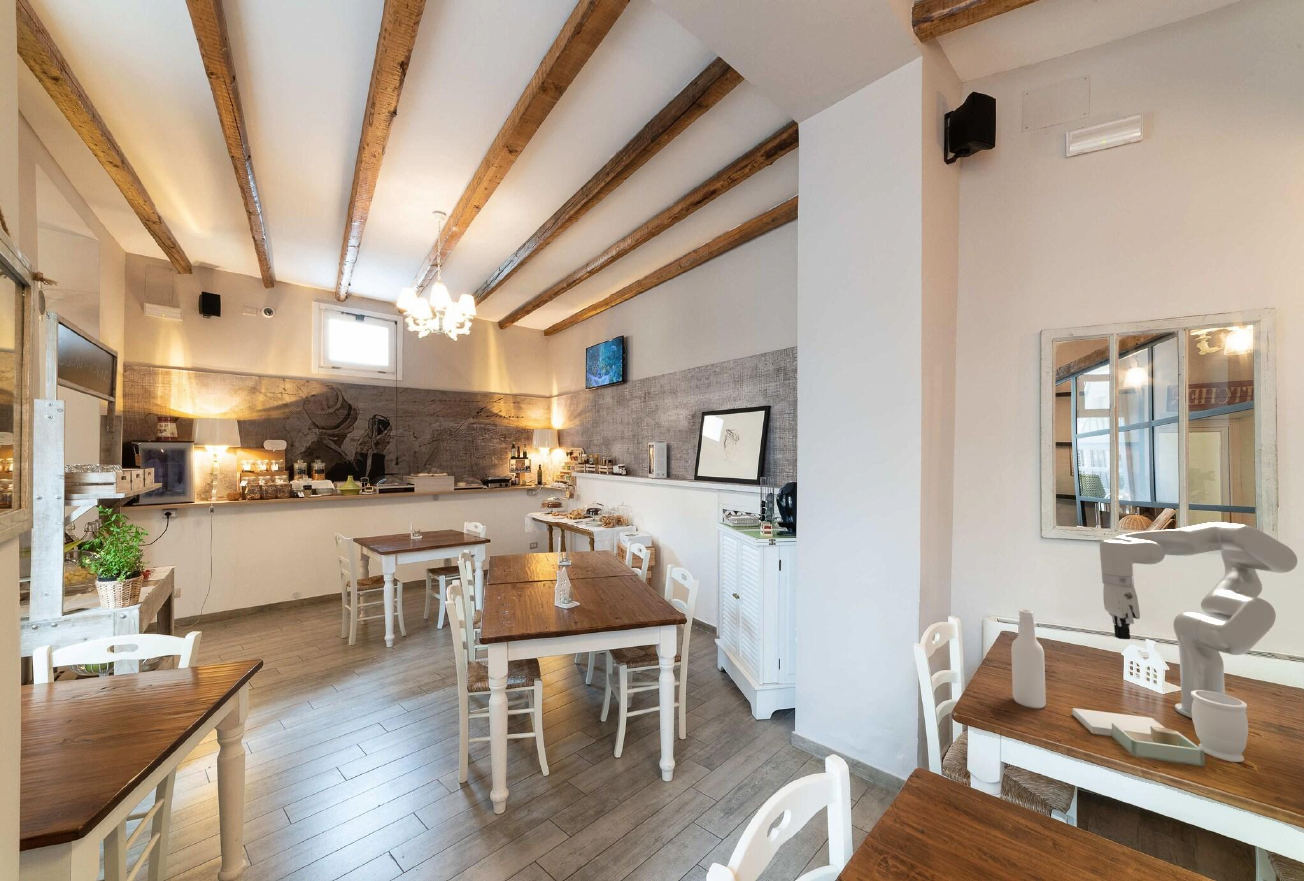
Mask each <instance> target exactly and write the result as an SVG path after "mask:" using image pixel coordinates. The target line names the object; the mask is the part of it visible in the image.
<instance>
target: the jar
mask: <svg viewBox="0 0 1304 881" xmlns="http://www.w3.org/2000/svg"><path fill="white" fill-rule="evenodd" d="M1191 696H1192V697H1193V698H1194V700H1193V703H1192V718H1191V719H1192V723H1193V725H1194V726H1193V727H1194V731H1195V734H1196V737H1197V739H1198V740H1199V742H1200V743H1199V744H1198V747H1199V748H1201V749H1202V750H1204V754H1206V755H1208V756H1210V757H1213V758H1216V759H1220V760H1223V761H1226V762H1232V763H1234V762H1235V763H1241V762H1242V763H1243V762H1244V761H1245V757H1244V756H1243V754H1242V753H1243V752H1244V750H1245V749H1246V746H1247V741H1248V735H1249V722H1248V717H1247V716H1246V714H1245V712H1244V710H1246V711H1247V709H1248V705H1247V703H1246V702H1245V701H1243V700H1241V699H1239V698H1236V697H1234V696H1231V695H1228V694H1226V693H1225V694H1221V693H1216V692H1211V691H1204V690H1194V691H1191Z"/></svg>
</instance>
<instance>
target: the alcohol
mask: <svg viewBox="0 0 1304 881" xmlns="http://www.w3.org/2000/svg"><path fill="white" fill-rule="evenodd" d="M1018 616H1019V617H1018V618H1019V620H1018V634H1017V637H1016V638H1015V639H1014V640H1013V641H1012V643H1011V647H1010V648H1011V650H1010V653H1011V676H1012V680H1011V682H1012V698H1013V700H1014V701H1015V703H1017V704H1019V705H1021V706H1024V707H1027V708H1031V709H1043V708H1044V707H1045V706H1046V705H1047V702H1046V701H1047V700H1046V699H1047V698H1046V672H1045V671H1046V670H1045V667H1046V666H1045V651H1044V649H1043V646H1042V644H1041V643H1039V641H1038V639H1037V636H1036V626H1035V622H1034V618H1035V616H1034V612H1033V611H1032V610H1028V609H1019V610H1018Z"/></svg>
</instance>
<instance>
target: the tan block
mask: <svg viewBox="0 0 1304 881" xmlns="http://www.w3.org/2000/svg"><path fill="white" fill-rule="evenodd" d="M1126 733H1127V734H1128V735H1129V736H1131V737H1132V738H1133V739H1134V740H1138V741H1145V742H1152V743H1155V742H1154V741H1153V740H1152V739H1150V738H1149V737H1148V736H1147V735H1146V734H1139V733H1131V732H1126Z"/></svg>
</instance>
